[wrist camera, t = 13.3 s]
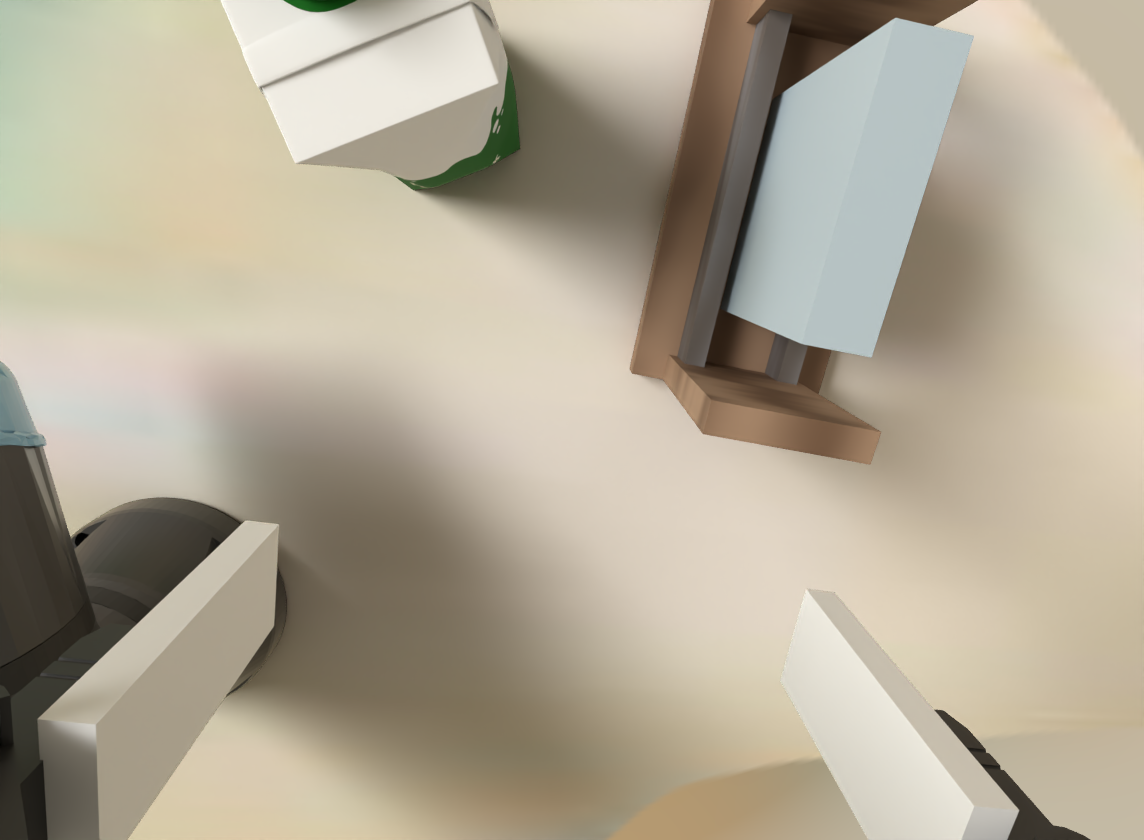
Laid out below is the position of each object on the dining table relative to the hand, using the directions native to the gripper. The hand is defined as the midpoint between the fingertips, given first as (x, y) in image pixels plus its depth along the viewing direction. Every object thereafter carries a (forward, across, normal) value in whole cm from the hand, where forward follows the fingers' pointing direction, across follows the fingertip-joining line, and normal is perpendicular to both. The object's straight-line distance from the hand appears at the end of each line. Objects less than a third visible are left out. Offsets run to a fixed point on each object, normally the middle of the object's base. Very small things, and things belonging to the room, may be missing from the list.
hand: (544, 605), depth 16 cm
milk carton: (+28, -8, +15) cm, 33 cm away
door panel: (+25, +12, +12) cm, 31 cm away
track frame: (+27, +12, +12) cm, 32 cm away
